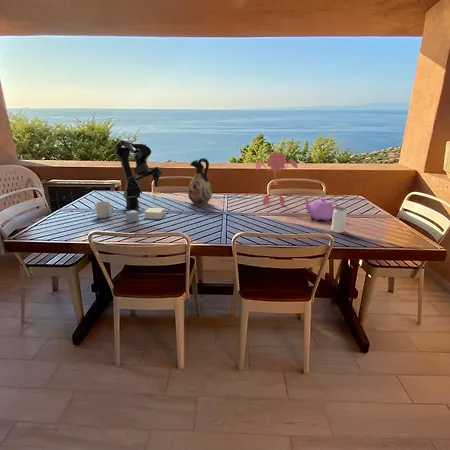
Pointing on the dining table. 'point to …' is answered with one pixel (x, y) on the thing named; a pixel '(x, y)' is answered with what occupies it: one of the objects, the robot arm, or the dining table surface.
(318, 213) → the teapot
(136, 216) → the cube
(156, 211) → the plinth
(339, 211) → the can
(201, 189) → the ceramic jug
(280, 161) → the pink artificial flower
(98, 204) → the cup
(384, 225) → the dining table surface
